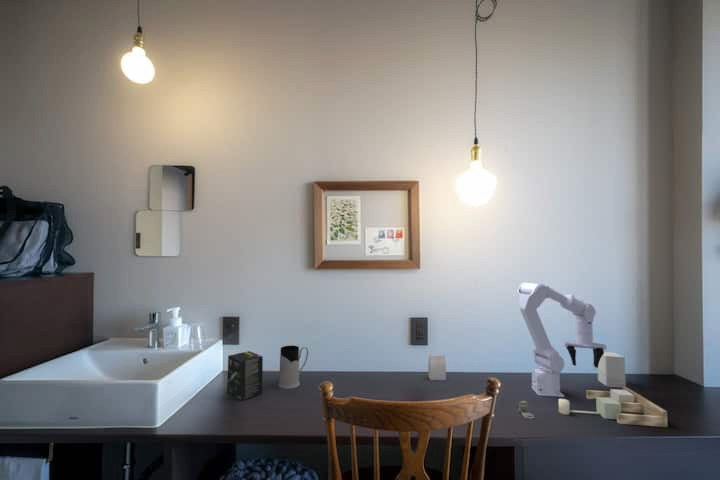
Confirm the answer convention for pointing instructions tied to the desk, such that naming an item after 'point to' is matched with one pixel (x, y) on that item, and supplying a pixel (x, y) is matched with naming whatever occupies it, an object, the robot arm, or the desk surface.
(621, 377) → the supplement box
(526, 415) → the strap clip
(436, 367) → the beige box
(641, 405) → the lane rack
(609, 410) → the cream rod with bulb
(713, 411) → the desk surface
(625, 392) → the grey block
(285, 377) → the grey mug
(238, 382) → the tampon box
